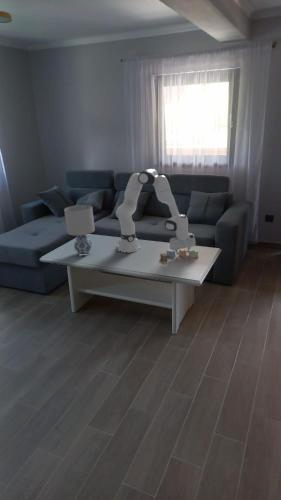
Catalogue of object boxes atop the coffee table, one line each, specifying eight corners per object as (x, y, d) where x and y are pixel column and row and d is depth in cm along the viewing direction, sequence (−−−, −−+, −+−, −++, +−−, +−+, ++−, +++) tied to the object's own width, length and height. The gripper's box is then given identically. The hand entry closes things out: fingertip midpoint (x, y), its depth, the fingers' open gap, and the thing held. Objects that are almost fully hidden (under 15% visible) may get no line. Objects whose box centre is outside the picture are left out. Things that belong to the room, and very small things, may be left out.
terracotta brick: (179, 254, 265) (179, 249, 264) (182, 254, 266) (182, 248, 265) (182, 257, 260) (182, 251, 258) (186, 256, 261) (186, 251, 259)
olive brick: (190, 258, 257) (190, 252, 256) (189, 257, 260) (188, 251, 258) (198, 256, 259) (198, 251, 258) (196, 255, 262) (196, 250, 260)
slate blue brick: (166, 255, 265) (166, 250, 264) (168, 254, 267) (168, 249, 266) (173, 257, 261) (172, 251, 260) (175, 256, 263) (175, 250, 262)
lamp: (93, 258, 269) (88, 210, 256) (67, 259, 271) (60, 211, 259) (99, 249, 289) (94, 204, 276) (74, 249, 292) (68, 205, 279)
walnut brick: (160, 259, 260) (160, 253, 258) (164, 258, 261) (164, 252, 259) (163, 261, 254) (163, 256, 253) (167, 261, 255) (167, 255, 254)
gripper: (171, 239, 252) (172, 257, 257) (196, 235, 258) (196, 252, 263) (167, 237, 257) (168, 254, 262) (192, 232, 264) (192, 249, 268)
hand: (182, 253), depth 262 cm, fingers open, 7 cm apart
